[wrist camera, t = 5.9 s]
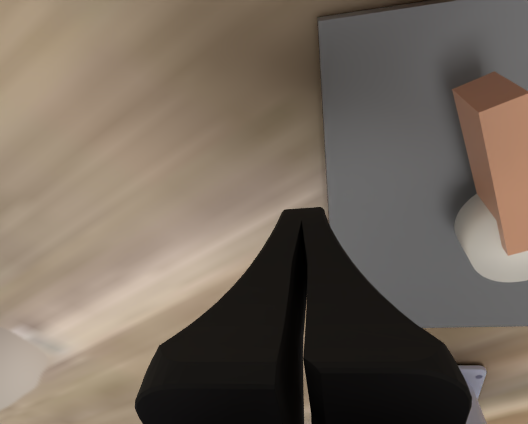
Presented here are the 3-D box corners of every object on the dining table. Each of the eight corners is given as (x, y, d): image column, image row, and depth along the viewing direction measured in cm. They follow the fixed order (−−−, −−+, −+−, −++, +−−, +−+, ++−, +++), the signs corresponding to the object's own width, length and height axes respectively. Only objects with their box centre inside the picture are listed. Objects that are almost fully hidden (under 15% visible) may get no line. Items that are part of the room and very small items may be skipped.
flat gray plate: (590, 310, 24) (613, 338, 23) (334, 315, 27) (336, 340, 25) (783, -54, 13) (858, -56, 12) (317, 17, 16) (319, 24, 14)
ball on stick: (463, 261, 20) (484, 300, 18) (417, 103, 15) (436, 129, 13) (555, 237, 19) (590, 276, 16) (534, 54, 14) (579, 73, 12)
